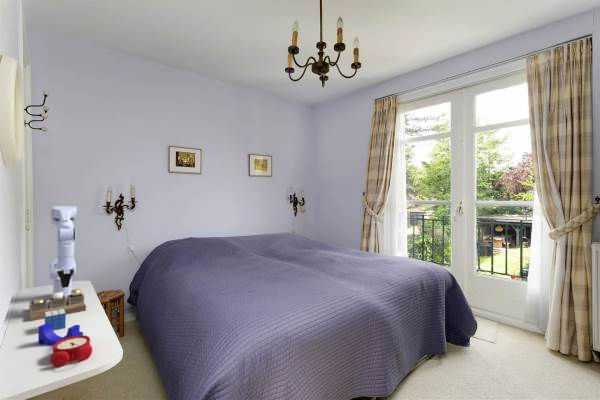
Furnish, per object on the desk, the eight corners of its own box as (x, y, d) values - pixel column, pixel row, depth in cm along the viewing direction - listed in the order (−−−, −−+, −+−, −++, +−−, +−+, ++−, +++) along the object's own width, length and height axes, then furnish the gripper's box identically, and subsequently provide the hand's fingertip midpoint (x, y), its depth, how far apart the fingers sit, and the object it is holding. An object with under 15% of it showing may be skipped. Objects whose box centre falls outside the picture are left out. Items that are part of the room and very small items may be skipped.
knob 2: (70, 296, 134) (70, 289, 133) (79, 295, 136) (80, 288, 136) (71, 298, 131) (71, 291, 131) (80, 297, 133) (81, 290, 133)
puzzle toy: (63, 323, 116) (64, 308, 116) (65, 328, 112) (65, 312, 112) (44, 327, 112) (44, 312, 112) (45, 332, 108) (45, 316, 108)
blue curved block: (82, 340, 103) (83, 323, 103) (71, 347, 99) (72, 328, 99) (50, 338, 104) (51, 321, 104) (38, 344, 100) (38, 326, 100)
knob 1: (33, 307, 125) (33, 299, 125) (43, 305, 127) (43, 298, 127) (33, 309, 123) (33, 302, 123) (44, 307, 125) (44, 300, 125)
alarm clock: (90, 331, 102) (95, 338, 91) (90, 351, 101) (95, 360, 90) (50, 340, 96) (50, 348, 84) (50, 361, 94) (49, 372, 83)
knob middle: (52, 299, 129) (52, 292, 129) (62, 297, 132) (62, 291, 132) (52, 301, 127) (53, 294, 127) (63, 299, 129) (63, 292, 129)
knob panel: (29, 309, 129) (29, 297, 129) (80, 300, 141) (81, 289, 141) (29, 321, 117) (29, 308, 117) (85, 310, 129) (86, 298, 129)
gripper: (53, 254, 134) (52, 284, 134) (54, 259, 123) (54, 293, 123) (73, 252, 138) (72, 282, 138) (76, 257, 127) (75, 289, 127)
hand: (65, 287), depth 131 cm, fingers closed
